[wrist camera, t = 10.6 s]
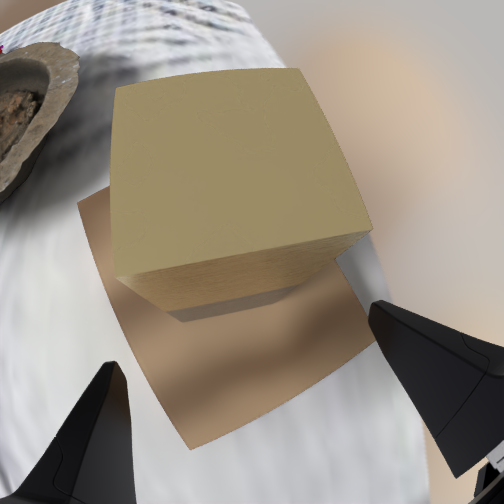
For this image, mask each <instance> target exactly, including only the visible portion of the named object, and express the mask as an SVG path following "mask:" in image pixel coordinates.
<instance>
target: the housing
mask: <svg viewBox="0 0 504 504" xmlns="http://www.w3.org/2000/svg"><path fill="white" fill-rule="evenodd" d="M110 214H111V235H112V250H113V262H114V272H115V278H116V279H118V280H119V281H120V282H122V283H123V284H125V285H126V286H127V287H129V288H130V289H132V290H133V291H135V292H136V293H138V294H139V295H140V296H142V297H143V298H145V299H146V300H148V301H149V302H151V303H152V304H154V305H155V306H157V307H158V308H160V309H162V310H163V311H165V312H166V313H168V314H169V315H171V316H172V317H174V318H176V319H177V320H179V321H180V322H182V323H184V322H189V321H194V320H199V319H205V318H210V317H215V316H220V315H224V314H229V313H234V312H239V311H243V310H248V309H253V308H257V307H262V306H266V305H270V304H273V303H275V302H276V301H278V300H279V299H281V298H282V297H283V296H285V295H286V294H288V293H289V292H290V291H292V290H293V289H294V288H296V287H297V286H299V285H300V284H301V283H303V282H304V281H305V280H307V279H308V278H310V277H311V276H312V275H314V274H315V273H316V272H318V271H319V270H320V269H322V268H323V267H324V266H326V265H327V264H328V263H330V262H331V261H332V260H334V259H335V258H336V257H338V256H339V255H340V254H342V253H343V252H344V251H346V250H347V249H348V248H349V247H351V246H352V245H353V244H355V243H356V242H357V241H358V240H360V239H361V238H362V237H364V236H365V235H366V234H367V233H369V232H370V231H371V230H372V229H373V227H372V224H371V221H370V219H369V216H368V213H367V211H366V208H365V205H364V203H363V200H362V198H361V195H360V193H359V190H358V188H357V185H356V183H355V181H354V178H353V176H352V173H351V171H350V169H349V166H348V164H347V162H346V159H345V157H344V155H343V153H342V151H341V148H340V146H339V144H338V142H337V140H336V138H335V136H334V134H333V131H332V129H331V127H330V125H329V123H328V121H327V119H326V117H325V115H324V113H323V112H322V109H321V108H320V106H319V104H318V102H317V100H316V98H315V96H314V94H313V93H312V91H311V89H310V87H309V85H308V83H307V82H306V80H305V78H304V76H303V75H302V73H301V71H300V70H299V69H297V68H256V69H235V70H221V71H210V72H201V73H192V74H185V75H178V76H171V77H165V78H160V79H154V80H149V81H144V82H139V83H134V84H130V85H125V86H121V87H117V88H116V90H115V98H114V108H113V120H112V134H111V154H110Z"/></svg>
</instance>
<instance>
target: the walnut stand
mask: <svg viewBox="0 0 504 504" xmlns="http://www.w3.org/2000/svg"><path fill="white" fill-rule="evenodd" d="M77 205H78V208H79V212H80V216H81V219H82V223H83V226H84V230H85V233H86V236H87V239H88V242H89V246H90V249H91V252H92V255H93V258H94V261H95V263H96V266H97V269H98V272H99V275H100V277H101V280H102V283H103V285H104V288H105V290H106V293H107V296H108V298H109V300H110V303H111V305H112V308H113V310H114V313H115V315H116V317H117V320H118V322H119V324H120V326H121V329H122V331H123V333H124V335H125V337H126V339H127V342H128V344H129V346H130V348H131V350H132V352H133V354H134V356H135V358H136V360H137V362H138V364H139V366H140V368H141V370H142V372H143V374H144V375H145V377H146V379H147V381H148V383H149V385H150V386H151V388H152V390H153V392H154V394H155V395H156V397H157V399H158V401H159V402H160V404H161V406H162V407H163V409H164V411H165V412H166V414H167V416H168V417H169V419H170V421H171V422H172V424H173V425H174V427H175V429H176V430H177V432H178V433H179V435H180V436H181V438H182V439H183V441H184V442H185V444H186V445H187V447H188V448H189V450H192V449H195V448H197V447H199V446H202V445H204V444H206V443H208V442H211V441H213V440H215V439H217V438H219V437H221V436H223V435H225V434H228V433H230V432H232V431H234V430H236V429H238V428H240V427H242V426H244V425H245V424H247V423H249V422H251V421H253V420H255V419H257V418H259V417H260V416H262V415H264V414H266V413H268V412H269V411H271V410H273V409H275V408H277V407H278V406H280V405H282V404H283V403H285V402H287V401H288V400H290V399H292V398H293V397H295V396H297V395H298V394H300V393H302V392H303V391H305V390H306V389H308V388H309V387H311V386H313V385H314V384H316V383H317V382H319V381H320V380H322V379H323V378H325V377H326V376H328V375H329V374H331V373H332V372H334V371H335V370H336V369H338V368H339V367H341V366H342V365H344V364H345V363H346V362H348V361H349V360H350V359H352V358H353V357H355V356H356V355H357V354H359V353H360V352H361V351H363V350H364V349H365V348H367V347H368V346H369V345H370V344H372V343H373V342H374V341H376V339H375V337H374V335H373V333H372V331H371V329H370V327H369V324H368V317H367V315H366V313H365V311H364V309H363V307H362V306H361V304H360V302H359V300H358V299H357V297H356V295H355V293H354V292H353V290H352V288H351V286H350V285H349V283H348V281H347V279H346V278H345V276H344V274H343V273H342V271H341V269H340V267H339V266H338V264H337V262H336V261H335V259H334V260H332V261H331V262H330V263H328V264H327V265H326V266H324V267H323V268H322V269H320V270H319V271H318V272H316V273H315V274H314V275H312V276H311V277H310V278H308V279H307V280H305V281H304V282H303V283H301V284H300V285H299V286H297V287H296V288H294V289H293V290H292V291H290V292H289V293H288V294H286V295H285V296H283V297H282V298H281V299H279V300H278V301H276V302H275V303H273V304H270V305H266V306H262V307H257V308H253V309H248V310H243V311H239V312H234V313H229V314H224V315H220V316H215V317H210V318H205V319H199V320H194V321H189V322H184V323H182V322H180V321H179V320H177V319H176V318H174V317H172V316H171V315H169V314H168V313H166V312H165V311H163V310H162V309H160V308H158V307H157V306H155V305H154V304H152V303H151V302H149V301H148V300H146V299H145V298H143V297H142V296H140V295H139V294H138V293H136V292H135V291H133V290H132V289H130V288H129V287H127V286H126V285H125V284H123V283H122V282H120V281H119V280H118V279H116V278H115V272H114V262H113V250H112V235H111V214H110V186H108V187H106V188H104V189H102V190H100V191H98V192H96V193H94V194H92V195H91V196H89V197H87V198H85V199H83V200H81V201H80V202H78V203H77Z"/></svg>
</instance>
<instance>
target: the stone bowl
mask: <svg viewBox="0 0 504 504" xmlns="http://www.w3.org/2000/svg"><path fill="white" fill-rule="evenodd" d="M79 58H80V57H79V56H78V55H77V54H76V53H74V52H73V51H71V50H69V49H65V48H63V47H61V46H60V43H53V42H38V43H34V44H31V45H28V46H26V47H23V48H19V49H16V50H14V51H11V52H10V53H8V54H4V53H0V204H1V203H2V202H3V201H4V200H5V199H6V198H7V197H9V196H10V194H11V193H12V192H13V191H14V190H15V189H16V188H17V187H18V186H20V185H21V184H22V183H23V182H24V181H25V180H26V179H27V178H28V176H29V174H30V173H31V170H32V168H33V165H34V162H35V160H36V158H37V157H38V155H39V153H40V152H41V150H42V148H43V146H44V144H45V141H46V138H47V135H48V131H49V130H50V129H51V128H52V127H53V126H54V124H55V123H56V122H57V120H58V118H59V116H60V115H61V113H62V112H63V111H64V109H65V107H66V106H67V104H68V103H69V101H70V99H71V98H72V96H73V94H74V93H75V90H76V88H77V85H78V82H79V81H78V78H79V76H77V75H78V72H77V71H78V69H79V68H80V66H79V60H78V59H79Z"/></svg>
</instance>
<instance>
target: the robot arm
mask: <svg viewBox="0 0 504 504" xmlns="http://www.w3.org/2000/svg"><path fill="white" fill-rule="evenodd" d="M368 324H369V327H370V329H371V331H372V333H373V335H374V337H375V339H376V341H377V343H378V345H379V347H380V349H381V351H382V353H383V355H384V357H385V358H386V360H387V362H388V363H389V365H390V366H391V368H392V370H393V371H394V373H395V374H396V376H397V378H398V379H399V381H400V382H401V384H402V386H403V387H404V389H405V391H406V392H407V394H408V395H409V397H410V399H411V400H412V402H413V404H414V405H415V407H416V409H417V411H418V412H419V414H420V416H421V417H422V419H423V421H424V422H425V424H426V426H427V428H428V429H429V431H430V433H431V434H432V436H433V438H434V439H435V442H436V444H437V446H438V447H439V449H440V451H441V453H442V455H443V456H444V458H445V460H446V462H447V464H448V466H449V467H450V469H451V471H452V473H453V475H454V477H455V478H456V479H457V478H458V477H459V476H461V475H462V474H464V473H465V472H466V471H467V470H469V469H470V468H472V467H473V466H474V465H475V464H477V463H478V462H479V461H480V460H482V459H483V458H484V457H485V456H486V458H487V459H488V460H489V462H487V464H485V465H484V466H483V467H482V468H481V469H480V470H479V472H478V477H477V483H476V488H475V492H474V497H475V498H474V499H473V500H472V501H471V502H470V503H468V504H504V347H502V346H498V345H495V344H492V343H489V342H486V341H483V340H480V339H477V338H475V337H472V336H469V335H467V334H464V333H462V332H459V331H457V330H455V329H452V328H450V327H447V326H444V325H442V324H440V323H437V322H435V321H432V320H430V319H428V318H425V317H423V316H420V315H418V314H415V313H412V312H410V311H408V310H405V309H403V308H400V307H398V306H396V305H393V304H391V303H388V302H386V301H383V300H379V301H376V302H373V303H372V304H371V307H370V312H369V316H368ZM0 504H137V503H136V494H135V484H134V472H133V456H132V429H131V415H130V407H129V398H128V389H127V380H126V377H125V375H124V373H123V372H122V370H121V368H120V366H119V365H118V363H117V362H116V361H109V362H105V363H104V364H103V365H102V366H101V368H100V369H99V371H98V372H97V374H96V375H95V376H94V378H93V379H92V381H91V382H90V384H89V385H88V387H87V388H86V390H85V391H84V393H83V394H82V395H81V397H80V398H79V400H78V401H77V403H76V404H75V406H74V407H73V409H72V411H71V412H70V414H69V415H68V417H67V418H66V420H65V421H64V423H63V424H62V426H61V428H60V429H59V431H58V432H57V434H56V437H54V439H53V440H52V442H51V443H50V445H49V446H48V448H47V450H46V451H45V453H44V454H43V456H42V457H41V458H40V460H39V461H38V463H37V464H36V465H35V467H34V468H33V469H32V471H31V472H30V473H29V475H28V476H27V477H26V479H25V480H24V481H23V483H22V484H21V485H20V487H19V488H18V489H17V490H16V491H15V492H14V493H12V494H11V495H9V496H6V497H4V498H0Z"/></svg>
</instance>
